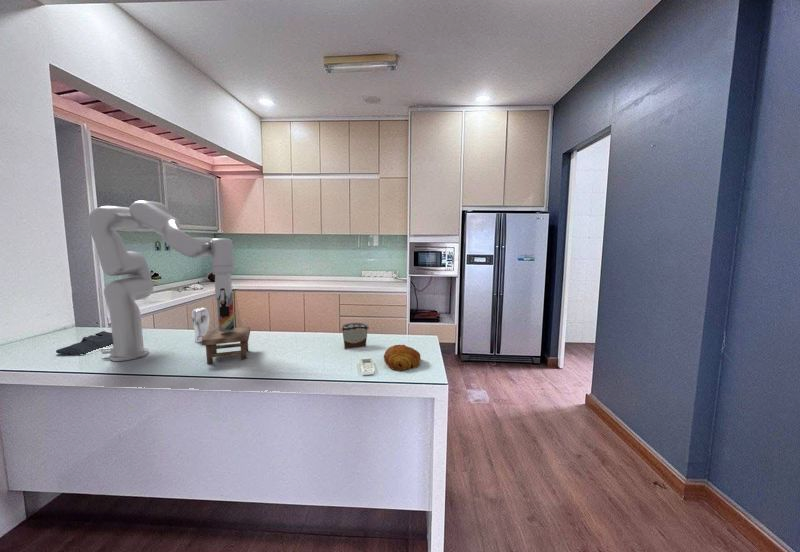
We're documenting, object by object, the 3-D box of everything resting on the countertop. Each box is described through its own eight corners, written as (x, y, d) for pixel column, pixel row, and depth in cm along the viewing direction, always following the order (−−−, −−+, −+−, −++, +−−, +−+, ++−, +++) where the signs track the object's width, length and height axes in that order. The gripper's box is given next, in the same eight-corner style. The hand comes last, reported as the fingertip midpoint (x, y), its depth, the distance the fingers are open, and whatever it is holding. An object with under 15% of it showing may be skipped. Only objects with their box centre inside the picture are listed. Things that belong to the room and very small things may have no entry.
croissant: (381, 376, 125) (380, 356, 123) (386, 355, 140) (385, 337, 138) (420, 376, 124) (420, 357, 122) (420, 355, 139) (420, 337, 137)
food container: (366, 342, 156) (365, 321, 155) (369, 346, 150) (369, 324, 149) (339, 345, 152) (338, 323, 151) (341, 349, 146) (341, 327, 145)
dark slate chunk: (47, 357, 137) (46, 345, 136) (95, 340, 159) (94, 330, 158) (86, 357, 137) (85, 345, 137) (128, 340, 159) (127, 330, 159)
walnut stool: (203, 365, 128) (201, 340, 126) (209, 353, 141) (207, 330, 139) (249, 360, 133) (247, 336, 132) (251, 349, 146) (250, 326, 145)
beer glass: (214, 338, 160) (212, 307, 158) (204, 343, 153) (202, 311, 151) (200, 338, 161) (198, 307, 159) (190, 342, 154) (187, 310, 152)
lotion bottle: (233, 331, 134) (230, 281, 131) (217, 332, 132) (214, 282, 130) (235, 327, 139) (233, 279, 137) (220, 328, 137) (217, 280, 135)
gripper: (215, 267, 139) (218, 310, 141) (208, 272, 123) (211, 320, 125) (235, 267, 142) (238, 309, 144) (231, 272, 126) (233, 319, 128)
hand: (225, 314), depth 135 cm, fingers closed on lotion bottle, 5 cm apart
